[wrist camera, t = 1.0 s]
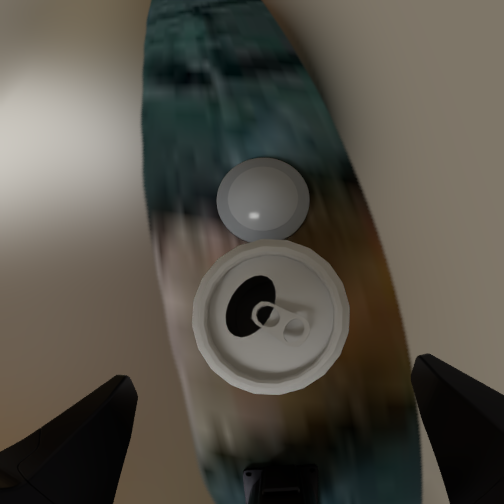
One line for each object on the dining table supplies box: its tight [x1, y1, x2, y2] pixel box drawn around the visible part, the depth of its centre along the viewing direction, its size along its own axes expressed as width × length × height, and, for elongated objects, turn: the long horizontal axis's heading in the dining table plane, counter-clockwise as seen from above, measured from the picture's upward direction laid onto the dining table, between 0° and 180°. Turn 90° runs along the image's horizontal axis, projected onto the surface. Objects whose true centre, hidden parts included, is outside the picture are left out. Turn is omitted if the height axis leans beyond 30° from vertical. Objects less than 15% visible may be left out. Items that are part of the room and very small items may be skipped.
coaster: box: [217, 158, 310, 243], centre depth 25 cm, size 8×8×1 cm
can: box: [192, 239, 350, 395], centre depth 18 cm, size 8×8×12 cm
